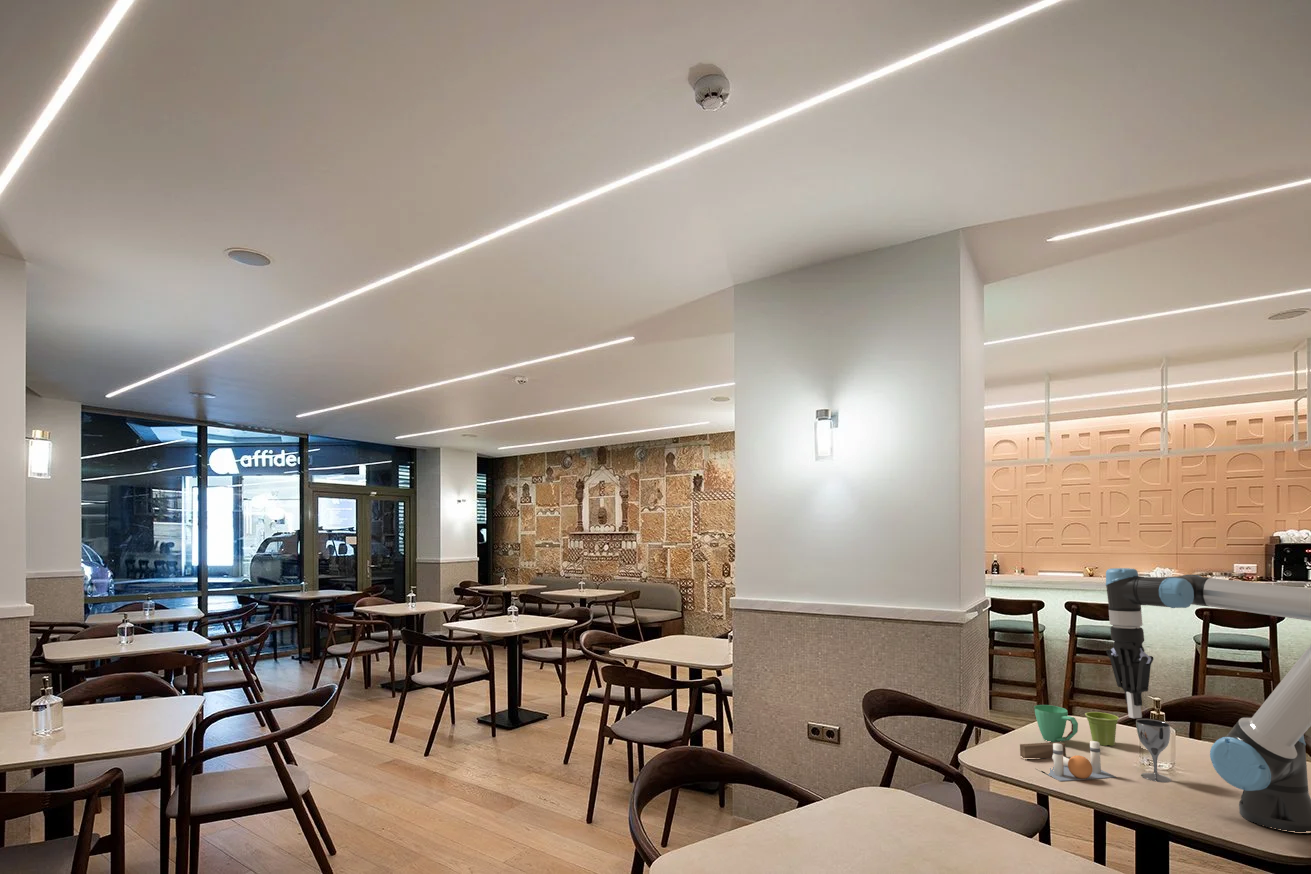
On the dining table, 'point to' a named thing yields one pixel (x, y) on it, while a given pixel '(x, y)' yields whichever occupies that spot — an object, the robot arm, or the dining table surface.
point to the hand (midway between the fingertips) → (1135, 717)
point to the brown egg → (1080, 767)
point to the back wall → (1039, 750)
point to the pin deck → (1070, 777)
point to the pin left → (1058, 759)
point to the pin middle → (1065, 761)
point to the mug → (1054, 722)
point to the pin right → (1095, 757)
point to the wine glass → (1154, 743)
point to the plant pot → (1102, 727)
